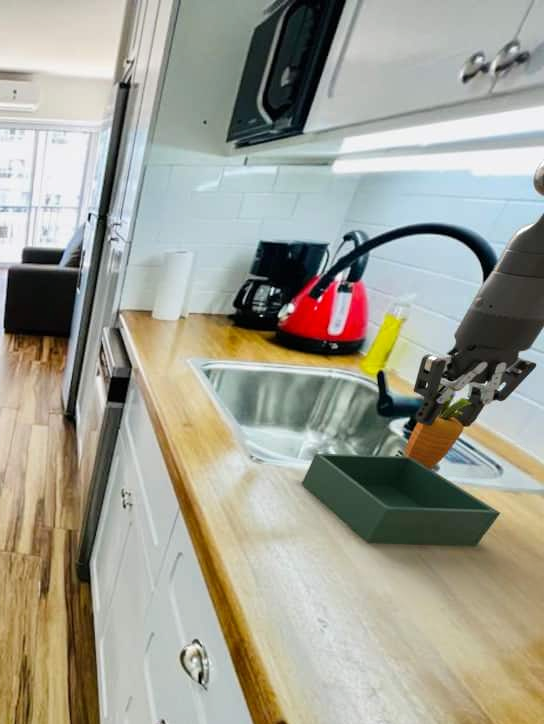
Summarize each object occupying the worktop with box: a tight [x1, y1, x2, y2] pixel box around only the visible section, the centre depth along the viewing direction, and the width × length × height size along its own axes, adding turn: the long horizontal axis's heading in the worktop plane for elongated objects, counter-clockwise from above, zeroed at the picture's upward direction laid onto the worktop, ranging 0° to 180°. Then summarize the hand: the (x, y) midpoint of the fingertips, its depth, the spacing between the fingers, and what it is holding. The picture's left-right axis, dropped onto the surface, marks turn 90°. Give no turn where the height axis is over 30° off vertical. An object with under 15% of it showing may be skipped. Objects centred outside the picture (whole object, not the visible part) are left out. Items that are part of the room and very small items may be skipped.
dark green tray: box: [301, 452, 501, 548], centre depth 68 cm, size 14×14×6 cm
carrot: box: [403, 394, 472, 470], centre depth 74 cm, size 5×5×15 cm
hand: (441, 423), depth 72 cm, fingers closed on carrot, 5 cm apart
